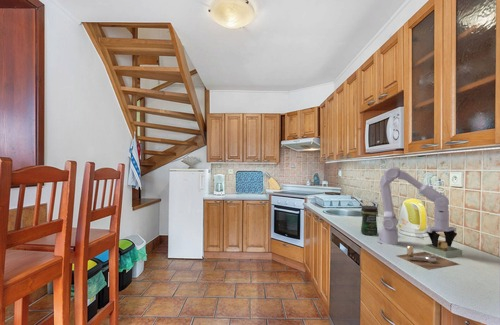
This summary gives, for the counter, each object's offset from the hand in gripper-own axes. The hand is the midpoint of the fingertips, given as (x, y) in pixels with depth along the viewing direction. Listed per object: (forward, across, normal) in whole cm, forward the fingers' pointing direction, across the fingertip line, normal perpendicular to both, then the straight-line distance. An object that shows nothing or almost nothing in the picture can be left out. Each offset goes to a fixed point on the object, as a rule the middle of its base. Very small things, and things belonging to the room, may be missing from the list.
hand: (441, 246), depth 119 cm
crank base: (+4, -16, -8) cm, 18 cm away
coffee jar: (+4, -15, +37) cm, 40 cm away
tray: (+4, 0, 0) cm, 4 cm away
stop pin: (+4, 0, 0) cm, 4 cm away
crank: (+3, -19, -9) cm, 21 cm away
